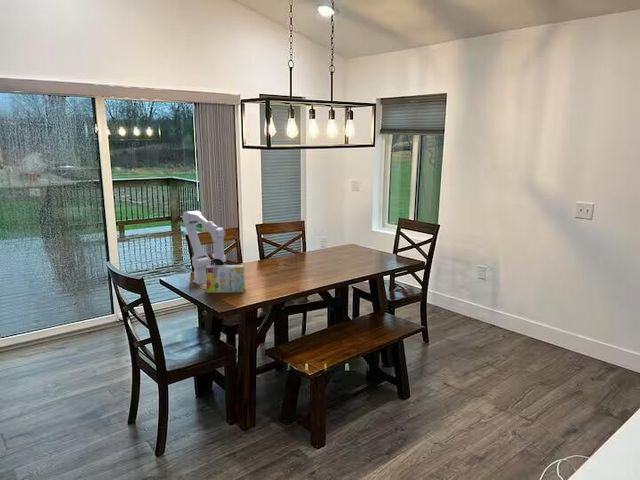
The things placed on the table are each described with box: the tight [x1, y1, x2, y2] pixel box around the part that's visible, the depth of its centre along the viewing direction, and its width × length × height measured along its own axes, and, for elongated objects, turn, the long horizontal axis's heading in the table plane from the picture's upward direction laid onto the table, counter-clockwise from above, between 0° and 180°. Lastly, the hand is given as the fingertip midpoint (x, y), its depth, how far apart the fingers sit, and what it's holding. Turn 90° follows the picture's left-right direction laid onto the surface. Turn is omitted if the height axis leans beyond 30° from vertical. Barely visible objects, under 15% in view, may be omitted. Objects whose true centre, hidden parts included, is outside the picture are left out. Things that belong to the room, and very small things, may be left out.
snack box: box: [206, 264, 246, 294], centre depth 263 cm, size 21×6×15 cm, turn 92°
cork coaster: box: [199, 284, 207, 290], centre depth 272 cm, size 9×9×1 cm
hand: (219, 271), depth 268 cm, fingers closed
